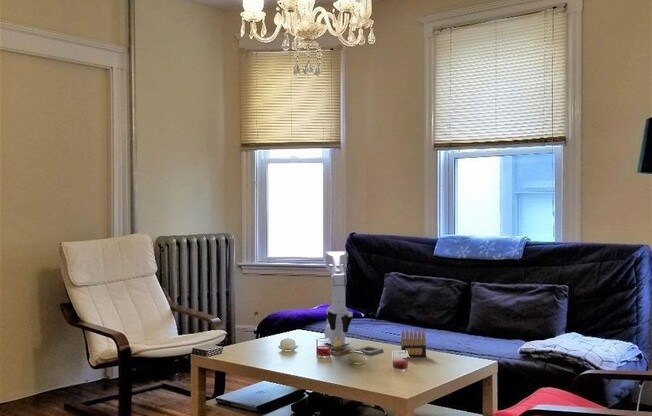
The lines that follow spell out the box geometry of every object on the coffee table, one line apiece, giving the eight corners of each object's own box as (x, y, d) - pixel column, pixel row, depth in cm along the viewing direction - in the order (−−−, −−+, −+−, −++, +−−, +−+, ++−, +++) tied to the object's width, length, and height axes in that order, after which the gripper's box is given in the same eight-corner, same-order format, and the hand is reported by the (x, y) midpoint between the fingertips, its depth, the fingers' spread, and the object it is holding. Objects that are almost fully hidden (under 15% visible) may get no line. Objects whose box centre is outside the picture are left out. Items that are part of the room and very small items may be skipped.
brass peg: (332, 352, 291) (332, 337, 291) (337, 351, 294) (337, 336, 293) (336, 353, 289) (336, 338, 289) (342, 352, 291) (342, 337, 291)
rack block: (322, 352, 291) (322, 349, 291) (336, 349, 298) (336, 346, 298) (337, 355, 285) (337, 353, 285) (351, 352, 291) (351, 349, 291)
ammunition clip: (425, 356, 283) (425, 328, 283) (426, 357, 281) (426, 329, 281) (400, 356, 283) (400, 328, 282) (401, 357, 281) (401, 329, 281)
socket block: (354, 352, 291) (354, 349, 291) (367, 348, 298) (367, 346, 298) (370, 355, 285) (370, 352, 285) (383, 351, 292) (383, 349, 292)
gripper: (321, 299, 294) (321, 330, 294) (344, 303, 284) (345, 334, 284) (331, 298, 299) (332, 327, 299) (355, 301, 289) (355, 332, 289)
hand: (339, 330), depth 292 cm, fingers open, 7 cm apart
